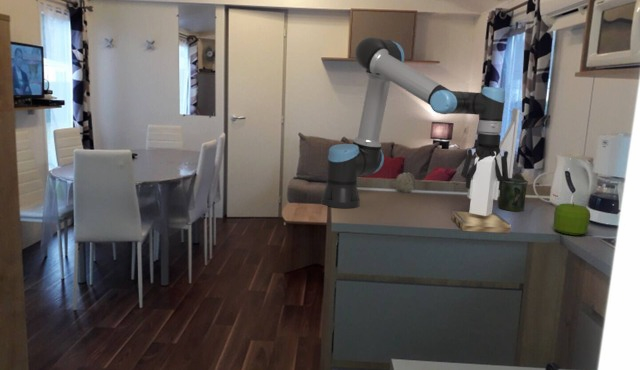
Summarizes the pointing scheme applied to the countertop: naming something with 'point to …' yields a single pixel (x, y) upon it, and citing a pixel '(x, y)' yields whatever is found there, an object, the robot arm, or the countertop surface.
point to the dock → (480, 222)
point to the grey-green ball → (405, 182)
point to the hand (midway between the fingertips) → (482, 198)
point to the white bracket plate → (509, 143)
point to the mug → (512, 194)
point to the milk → (483, 186)
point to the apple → (571, 219)
